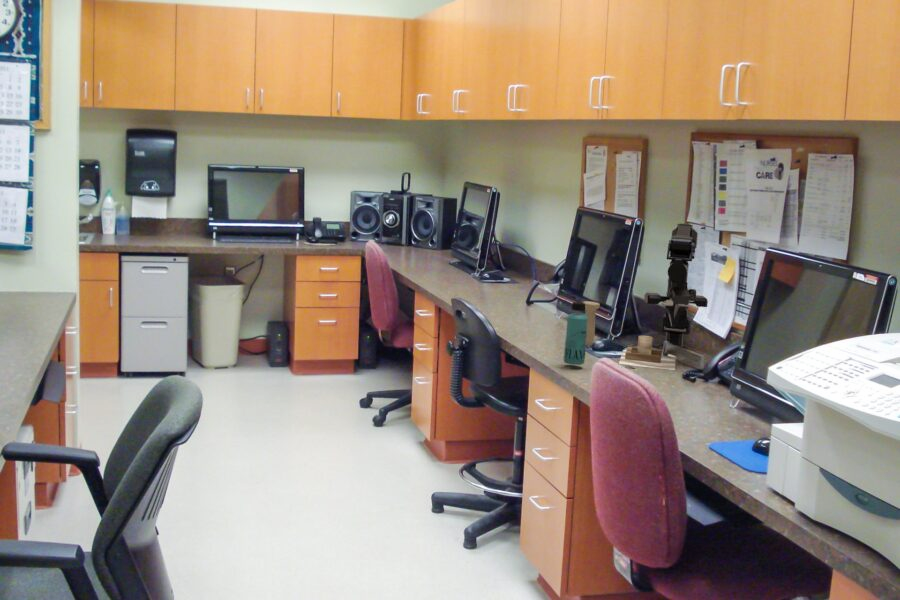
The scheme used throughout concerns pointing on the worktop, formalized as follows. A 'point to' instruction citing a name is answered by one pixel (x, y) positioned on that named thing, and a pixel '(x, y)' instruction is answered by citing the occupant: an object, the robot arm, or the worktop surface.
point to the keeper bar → (683, 353)
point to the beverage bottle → (576, 336)
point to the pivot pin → (644, 345)
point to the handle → (590, 320)
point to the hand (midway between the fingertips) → (673, 326)
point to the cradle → (647, 359)
